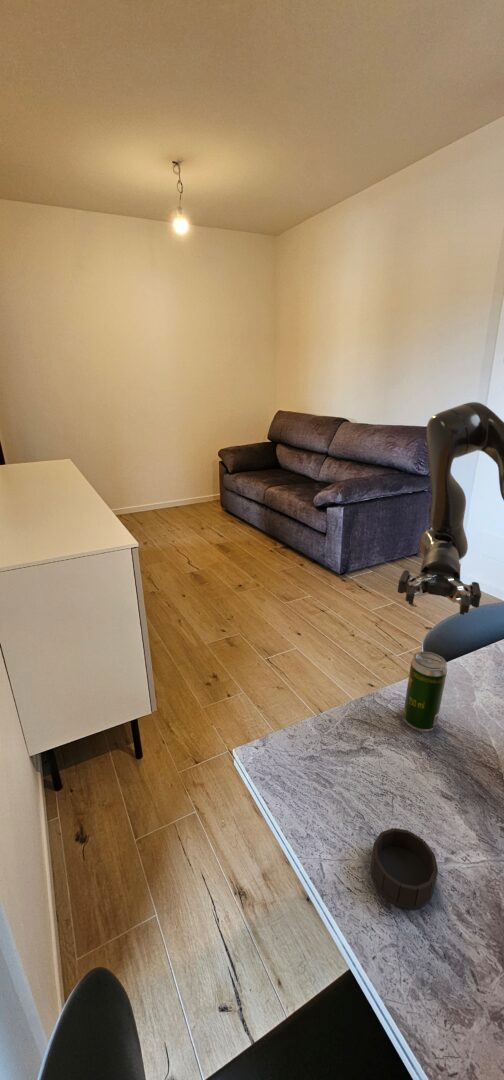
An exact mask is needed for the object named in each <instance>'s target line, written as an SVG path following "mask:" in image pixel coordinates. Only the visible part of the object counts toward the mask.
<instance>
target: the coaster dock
mask: <svg viewBox="0 0 504 1080" xmlns="http://www.w3.org/2000/svg"><path fill="white" fill-rule="evenodd" d="M438 872H439V869H438V863H437V858H436V855H435V853H434V852H433V849H431V847H430V846H429V844H428V843H427V842H426V840H425V839H423V838H422V837H420V836H419V835H417V834H416V833H414V832H413V831H411V830H408V829H403V828H398V827H392V828H389V829H386V830H384V831H381V832H380V833H379V834H378V836H377V838H375V841H374V842H373V846H372V853H371V859H370V876H371V879H372V882H373V884H374V887H375V888H376V890H377V891H378V892H379V894H380V895H381V896H382V897H383V898H384V899H385V900H386V901H387V902H389V903H391V904H392V905H394V906H396V907H398V908H400V909H404V910H410V911H411V910H412V911H414V910H419V909H422V908H424V907H425V906H426V905H428V904H429V903H430V901H431V900H432V898H433V896H434V892H435V887H436V883H437V879H438V874H439V873H438Z"/></svg>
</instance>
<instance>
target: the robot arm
mask: <svg viewBox="0 0 504 1080" xmlns="http://www.w3.org/2000/svg"><path fill="white" fill-rule="evenodd" d="M425 443H426V453H427V462H428V464H427V465H428V472H429V479H430V488H431V489H430V490H431V499H430V511H429V525H430V529H427V530H425V531H424V532H422V534H421V536H420V538H419V550H420V553H421V554H420V555H422V558H423V559H422V562H421V567H420V571H419V574H417V575H413V574H411V572H410V571H409V570H408V569H407V570H406V569H405V570H403V571H402V573H401V576H400V578H399V580H398V584H397V585H398V586H397V593H398V594H404V593H405V594H406V595H405V601H406V602H407V603H408V605H412V606H413V604H414V600H415V597H416V596H418V597H424V596H427V595H433V596H440V597H443V598H446V599H448V600H449V601H450V602H452V603H454V604H456V603H457V604H458V605H459V615H461V616H465V614H468V613H470V608H471V607H473V608H476V609H478V608H480V602H481V598H482V591H481V588H480V583H479V582H476V581H471V584H464V583H463V581H462V580H461V563H460V560H462V559H463V558H465V557H466V555H467V553H468V549H469V546H468V545H469V544H468V538H467V535H466V532H465V528H464V521H465V520H464V519H465V513H466V506H467V498H466V494H465V491H464V489H463V487H462V485H460V484H459V483H458V481H457V480H456V479H455V477H454V476H453V475H452V465H453V462H454V459H457V458H461V457H463V456H466V455H468V454H472V453H475V452H477V451H479V452H483V453H484V454H486V455H487V456H488V457H489V458H490V459H492V461H493V462H494V463H495V464H496V465H497V468H498V484H499V491H500V496H501V498H502V500H503V501H504V421H503V420H502V419H501V418H500V417H499V416H498V414H496V413H495V412H494V411H492V409H490V408H489V407H488V406H486V405H485V404H483V403H481V402H478V401H470V402H465V403H462V404H460V405H457V406H453V407H451V408H448V409H445V410H443V411H440V412H438V413H436V414H434V415H432V416H431V417H430V418H429V420H428V422H427V425H426V431H425Z"/></svg>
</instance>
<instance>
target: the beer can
mask: <svg viewBox="0 0 504 1080" xmlns="http://www.w3.org/2000/svg"><path fill="white" fill-rule="evenodd" d="M447 665H448V664H447V660H446V659H445V658H444V657H442V656H441V655H439V654H436V653H435V652H431V651H419V652H416V653H415V654H414V655H413V657H412V660H411V661H410V668H409V673H408V680H407V686H406V692H405V699H404V704H403V711H402V716H403V719H404V721H405V724H406V725H408V727H410V728H411V729H413V730H415V731H418V732H421V733H422V732H425V733H426V732H431V731H432V730H433V729H434V728H436V726H437V724H438V720H439V715H440V709H441V704H442V699H443V695H444V690H445V684H446V680H447V674H448V668H447Z"/></svg>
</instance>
